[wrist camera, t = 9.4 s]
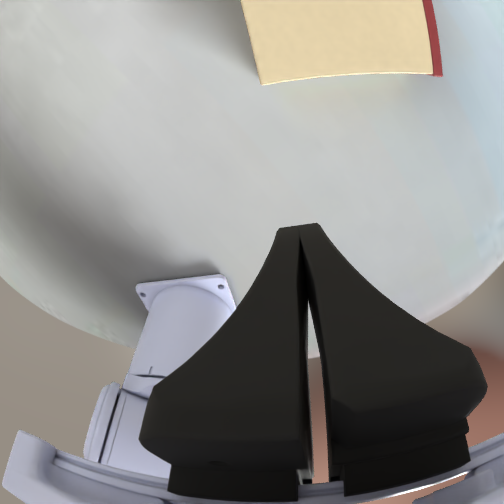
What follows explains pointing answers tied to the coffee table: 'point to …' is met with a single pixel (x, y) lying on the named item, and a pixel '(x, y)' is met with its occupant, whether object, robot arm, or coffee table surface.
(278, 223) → the coffee table surface
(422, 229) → the coffee table surface
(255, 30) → the book
